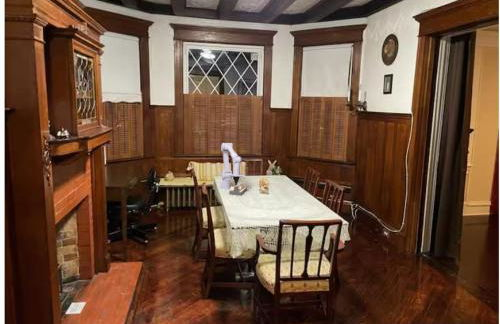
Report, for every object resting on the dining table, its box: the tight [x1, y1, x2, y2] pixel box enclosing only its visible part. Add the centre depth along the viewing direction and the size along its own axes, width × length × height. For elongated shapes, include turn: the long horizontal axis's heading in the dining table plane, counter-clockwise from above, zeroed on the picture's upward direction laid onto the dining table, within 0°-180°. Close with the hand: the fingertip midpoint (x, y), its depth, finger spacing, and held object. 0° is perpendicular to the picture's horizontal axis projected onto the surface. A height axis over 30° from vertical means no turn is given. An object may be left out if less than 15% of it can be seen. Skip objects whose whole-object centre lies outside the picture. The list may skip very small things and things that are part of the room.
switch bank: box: [228, 185, 248, 197], centre depth 343 cm, size 11×21×3 cm, turn 166°
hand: (236, 184), depth 337 cm, fingers closed
